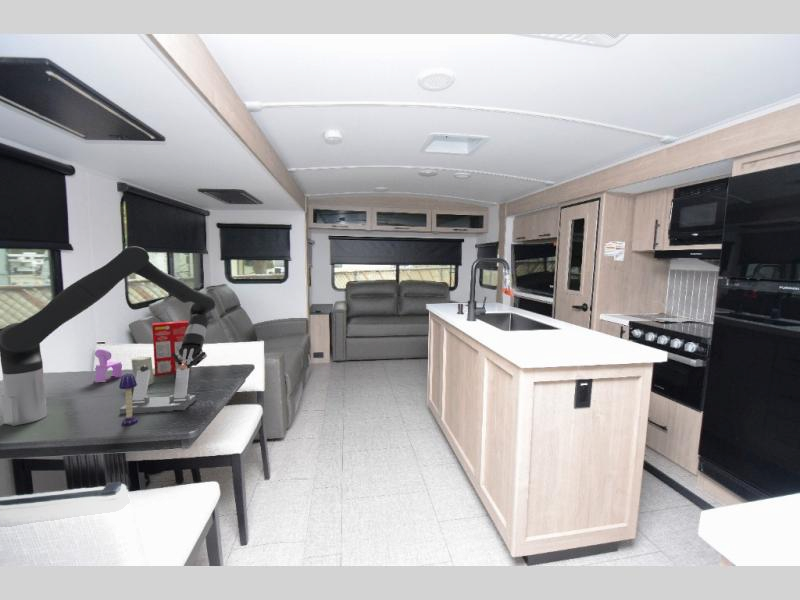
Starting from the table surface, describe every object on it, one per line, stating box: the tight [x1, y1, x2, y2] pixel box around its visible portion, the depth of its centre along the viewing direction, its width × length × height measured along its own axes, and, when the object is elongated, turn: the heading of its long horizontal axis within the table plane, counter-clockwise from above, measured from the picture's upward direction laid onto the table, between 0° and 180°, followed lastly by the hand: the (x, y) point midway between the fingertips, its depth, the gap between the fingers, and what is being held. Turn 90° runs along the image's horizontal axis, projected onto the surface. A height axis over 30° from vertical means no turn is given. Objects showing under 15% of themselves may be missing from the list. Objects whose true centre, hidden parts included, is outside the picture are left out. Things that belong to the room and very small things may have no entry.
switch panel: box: [119, 393, 197, 415], centre depth 128 cm, size 10×21×4 cm, turn 100°
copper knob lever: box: [173, 364, 190, 400], centre depth 131 cm, size 3×4×13 cm, turn 100°
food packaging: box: [151, 320, 192, 377], centre depth 170 cm, size 15×5×25 cm, turn 126°
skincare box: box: [131, 356, 154, 386], centre depth 152 cm, size 6×4×12 cm
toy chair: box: [93, 348, 123, 383], centre depth 158 cm, size 8×9×15 cm
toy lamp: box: [118, 373, 139, 426], centre depth 114 cm, size 5×5×17 cm
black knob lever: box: [132, 366, 151, 402], centre depth 129 cm, size 3×4×13 cm, turn 100°
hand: (184, 374), depth 133 cm, fingers closed
